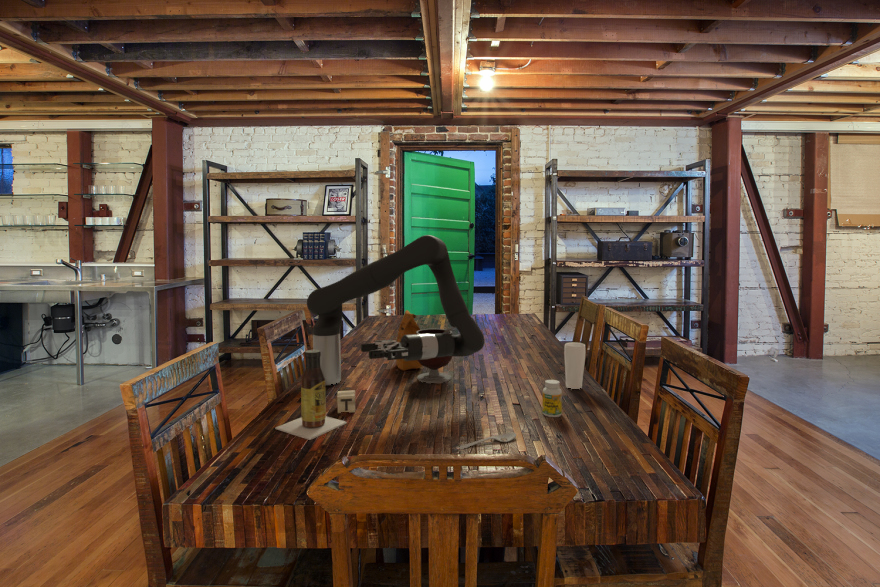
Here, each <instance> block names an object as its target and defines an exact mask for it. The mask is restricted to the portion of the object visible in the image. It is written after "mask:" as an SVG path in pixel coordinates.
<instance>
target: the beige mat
mask: <svg viewBox="0 0 880 587" xmlns="http://www.w3.org/2000/svg"><path fill="white" fill-rule="evenodd" d="M346 424H348V422H347V421H345V420H342V419H337V418H334V417H331V416H327V415H326V418H325V423H324V425H322V426H319V427H315V428H307V427H304V426H303V425H302V418H301V417H299V418H296V419H294V420H290V421H288V422H286V423H284V424H281V425H278V426H276V427H274V428H275V429H274V430H276V431H277V430H278V431H281V432H284V433H287V434H289V435H292V436H295V437H299V438H303V439H305V440H309V441H311V440H313V439H316V438H317V437H320V436H322V435H324V434H327V433H328V432H331V431H333V430H335V429H337V428H340V427H342V426H344V425H346Z"/></svg>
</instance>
